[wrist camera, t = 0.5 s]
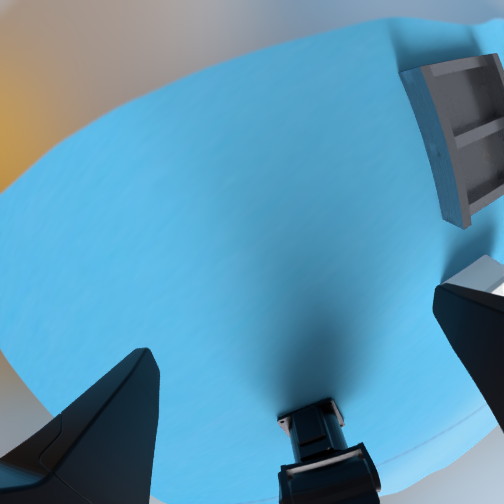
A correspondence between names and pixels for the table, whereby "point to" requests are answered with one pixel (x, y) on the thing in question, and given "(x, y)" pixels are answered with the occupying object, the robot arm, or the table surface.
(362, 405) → the table surface
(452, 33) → the table surface
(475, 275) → the white rectangular block
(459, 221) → the grey divided tray
